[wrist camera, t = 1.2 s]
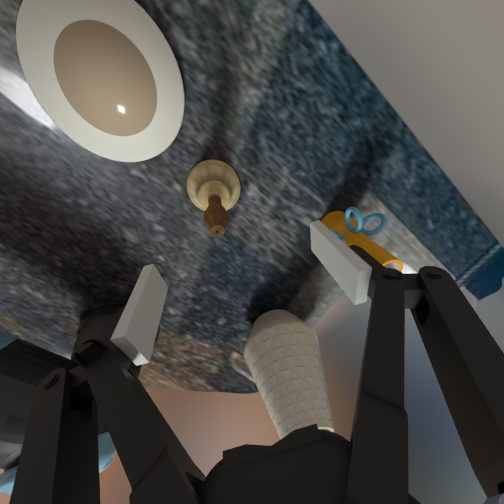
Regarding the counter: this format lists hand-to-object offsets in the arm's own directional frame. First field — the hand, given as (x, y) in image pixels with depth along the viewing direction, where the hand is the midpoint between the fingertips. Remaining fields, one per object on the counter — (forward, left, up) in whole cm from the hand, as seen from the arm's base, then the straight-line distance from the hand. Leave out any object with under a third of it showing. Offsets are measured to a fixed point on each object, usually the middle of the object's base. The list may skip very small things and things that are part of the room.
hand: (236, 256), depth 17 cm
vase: (+4, -36, -19) cm, 41 cm away
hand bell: (-1, +1, -19) cm, 19 cm away
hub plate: (-9, +15, -19) cm, 26 cm away
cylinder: (+19, -11, -19) cm, 29 cm away
